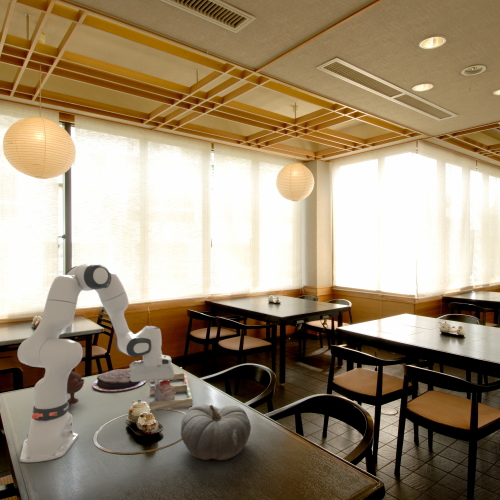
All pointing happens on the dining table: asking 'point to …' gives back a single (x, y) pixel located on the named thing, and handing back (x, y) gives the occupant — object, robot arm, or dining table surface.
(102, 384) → the chocolate cake
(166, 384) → the food item
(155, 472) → the dining table surface
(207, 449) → the gourd
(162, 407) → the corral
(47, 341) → the robot arm
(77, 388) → the ice cream bowl
